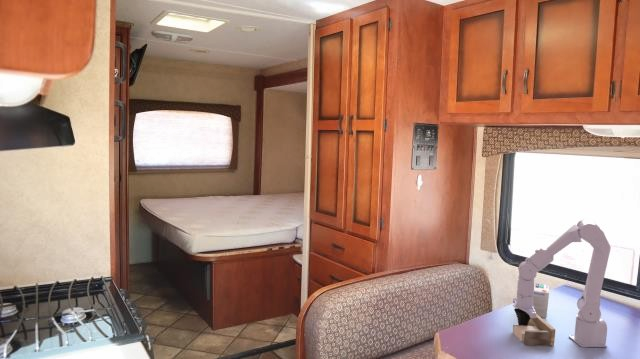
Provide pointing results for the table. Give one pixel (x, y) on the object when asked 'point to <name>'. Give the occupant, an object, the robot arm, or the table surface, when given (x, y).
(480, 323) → the table surface
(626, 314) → the table surface
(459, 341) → the table surface
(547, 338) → the shelf
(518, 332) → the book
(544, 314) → the light bulb box
